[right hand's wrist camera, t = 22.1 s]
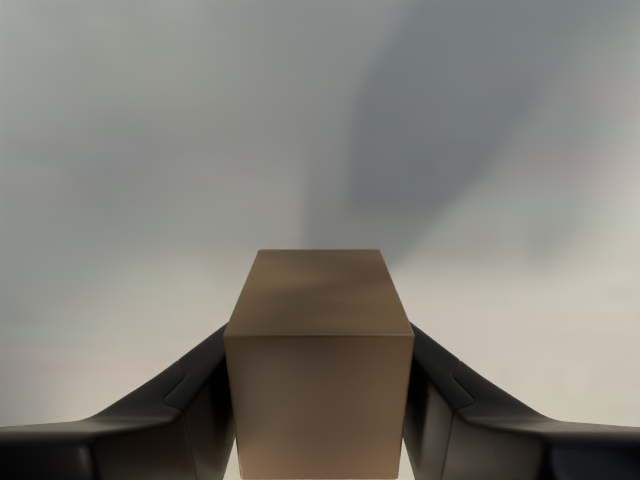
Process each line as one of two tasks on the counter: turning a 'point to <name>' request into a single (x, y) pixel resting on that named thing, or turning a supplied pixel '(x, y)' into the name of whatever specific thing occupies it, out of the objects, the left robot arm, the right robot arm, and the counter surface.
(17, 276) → the counter surface
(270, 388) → the brown wooden cube
